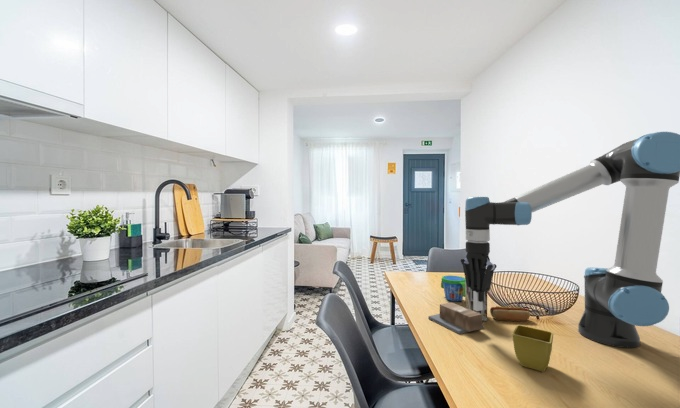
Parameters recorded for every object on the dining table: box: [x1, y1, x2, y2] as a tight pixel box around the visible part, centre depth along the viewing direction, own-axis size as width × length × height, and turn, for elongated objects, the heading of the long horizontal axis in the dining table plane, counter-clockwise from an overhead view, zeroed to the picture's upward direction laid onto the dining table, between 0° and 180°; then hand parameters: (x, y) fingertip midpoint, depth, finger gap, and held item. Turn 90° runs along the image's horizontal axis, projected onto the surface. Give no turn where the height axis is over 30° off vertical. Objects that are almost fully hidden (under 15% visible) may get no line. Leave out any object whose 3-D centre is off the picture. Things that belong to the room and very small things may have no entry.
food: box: [489, 306, 531, 322], centre depth 113 cm, size 14×6×5 cm, turn 83°
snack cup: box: [440, 275, 465, 302], centre depth 137 cm, size 16×10×10 cm
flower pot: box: [512, 324, 554, 372], centre depth 81 cm, size 9×9×9 cm
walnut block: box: [439, 301, 483, 332], centre depth 107 cm, size 5×6×14 cm
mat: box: [428, 313, 484, 335], centre depth 109 cm, size 15×12×1 cm
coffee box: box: [464, 279, 488, 322], centre depth 116 cm, size 9×6×16 cm
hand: (478, 309), depth 100 cm, fingers closed
